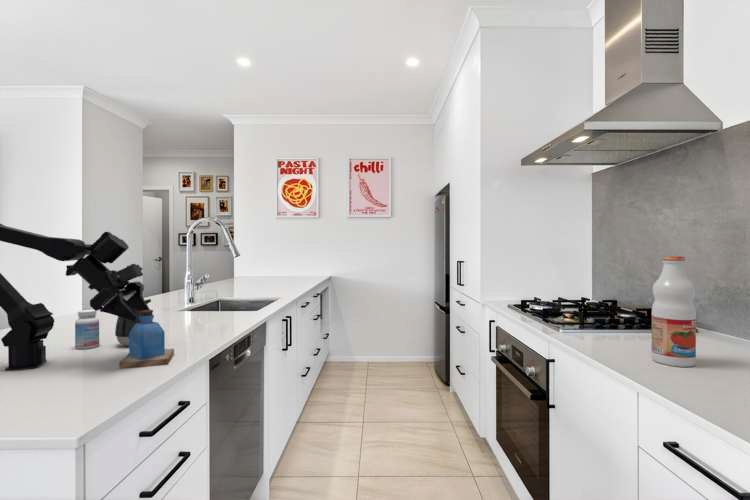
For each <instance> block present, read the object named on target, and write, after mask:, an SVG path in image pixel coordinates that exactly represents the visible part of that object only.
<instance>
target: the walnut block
mask: <svg viewBox="0 0 750 500" xmlns="http://www.w3.org/2000/svg"><path fill="white" fill-rule="evenodd" d="M174 355H175V348H165V354H163V355H159V356H155V357H150V358H146V359H137V358H134V357H130V356H129V353H127V354H126V355H125V357H123V358H122V359H121V360H120V361H119V362H118V364H119V365H118V366H119V368H118V369H119V370H125V369H136V368H146V367H148V368H149V367H157V366H159V367H160V366H167V365H169V363H170V362H171V360H172V358H173V356H174Z"/></svg>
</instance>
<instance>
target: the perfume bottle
mask: <svg viewBox="0 0 750 500" xmlns="http://www.w3.org/2000/svg"><path fill="white" fill-rule="evenodd" d="M153 312H154V309H150V310H143V311H140V314H141V315H140V316H139V320H141V323H136V324H135V325H134V326H133V328H132V329H131V331H130V332H129V346H128V354H129V356H130V357H134V358H137V359H146V358H150V357H155V356H159V355H163V354H165V349H166V347H165V341H166V340H165V330H164V329H163V328H162V326H161V324H159V322H157V321H153V319H155V318H154V317H155V315H154V313H153Z"/></svg>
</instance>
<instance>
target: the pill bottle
mask: <svg viewBox="0 0 750 500" xmlns="http://www.w3.org/2000/svg"><path fill="white" fill-rule="evenodd" d="M77 316H78V318H77V319H76V320H75V323H74V348H75V349H77V350H87V349H88V350H89V349H94V348H98V347H99V346H100V319H99V318H98V317H97V311H95V310H94V309H85V310H84V309H83V310H78V312H77Z"/></svg>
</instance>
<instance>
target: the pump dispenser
mask: <svg viewBox="0 0 750 500" xmlns="http://www.w3.org/2000/svg"><path fill="white" fill-rule="evenodd" d="M144 300H145V302H146V304H147V305H148V304H149V303H151V302H152V299H150V298H148V299H144ZM128 307H129V306H128ZM129 308H130V309H131V311H132V312H133V313H134V314H135V316H136V317H137V319H136V320H135V321H132V320H129V319H126V318H123V317H119V316H117V319H116V323H115V328H114V329H115V331H114V332H115V333H114V335H115V337H116V340H117V341H118V343H119V344H120V345H121V346H124V347H129V332H130V331H131V329H132V328H133V326H134V325H135V324H136V323H141V320H139V316H140V315H141V314H140V311H138V310H136V309H134V308H131V307H129Z"/></svg>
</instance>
